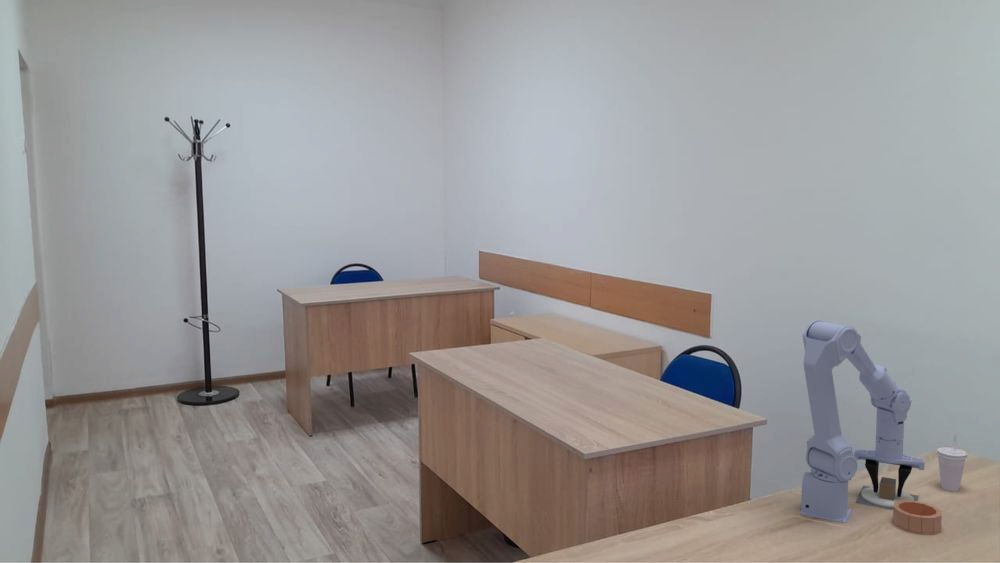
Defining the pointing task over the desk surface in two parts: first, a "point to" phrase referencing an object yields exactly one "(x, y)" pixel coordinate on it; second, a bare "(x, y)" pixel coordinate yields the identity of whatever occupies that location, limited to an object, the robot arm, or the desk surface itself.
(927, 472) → the desk surface
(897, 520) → the bowl
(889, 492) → the lid
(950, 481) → the smoothie
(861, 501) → the mat
